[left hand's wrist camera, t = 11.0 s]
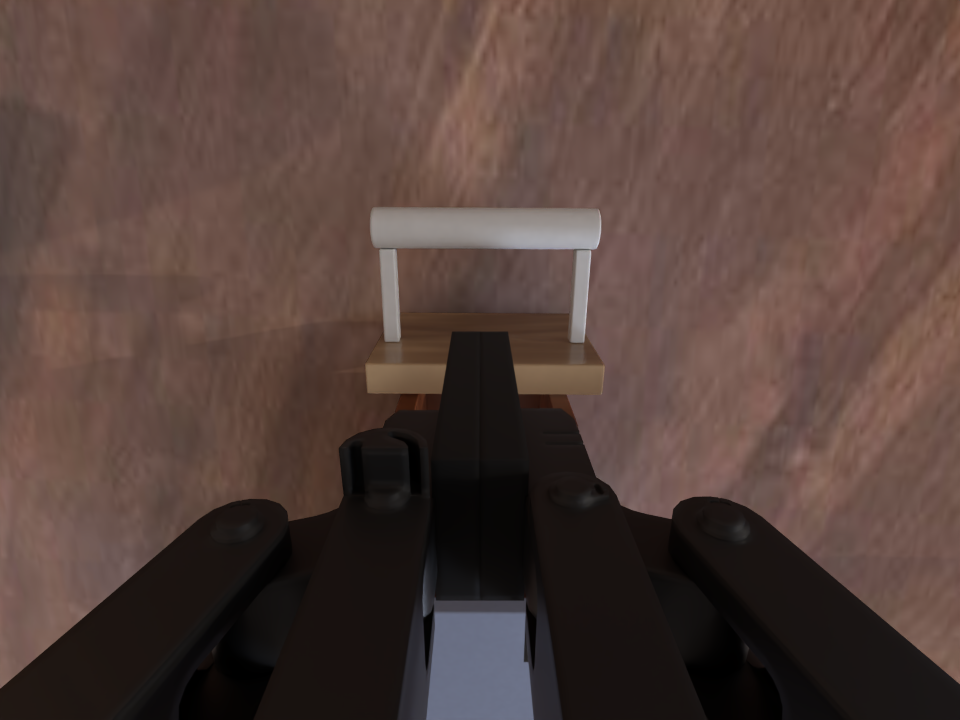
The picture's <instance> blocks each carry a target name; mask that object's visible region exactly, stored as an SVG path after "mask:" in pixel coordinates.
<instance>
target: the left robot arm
mask: <svg viewBox="0 0 960 720" xmlns="http://www.w3.org/2000/svg"><path fill="white" fill-rule="evenodd" d="M339 455H340V465H341V474H342V484H343V493H344V496H343V499H342V501H341V504H340V506H339V508H337V509H335V510H333V511H331V512H328V513H325V514H321V515H317V516H314V517H309V518H304V519H299V520H294V521H289V522H288V515H287V511H286V510H285V509H284V508H283V507H282V506H281V505H280V504H279V503H276V502H273V501H270V500H267V499H248V500H242V501H236V502H231V503H229V504H227V505H224V506H222V507H219V508H217V509H214V510H212V511H211V512H209V513H208V514H206V515H205V516H203V517H202V518H200V519H199V520H197V521H196V522H195V523H194V524H193V525H192V526H190V527H189V528H188V529H187V530H186V531H185V532H183V533H182V534H181V535H180V536H179V537H178V538H176V539H175V540H174V541H173V542H172V543H171V544H169V545H168V546H167V547H166V548H165V549H163V550H162V551H161V552H160V553H159V554H158V555H156V556H155V557H154V558H153V559H152V560H151V561H149V562H148V563H147V564H146V565H145V566H144V567H142V568H141V569H140V570H139V571H138V572H137V573H135V574H134V575H133V576H132V577H131V578H130V579H128V580H127V581H126V582H125V583H124V584H122V585H121V586H120V587H119V588H118V589H117V590H115V591H114V592H113V593H112V594H111V595H110V596H108V597H107V598H106V599H105V600H104V601H103V602H101V603H100V604H99V605H98V606H97V607H96V608H94V609H93V610H92V611H91V612H90V613H89V614H87V615H86V616H85V617H84V618H83V619H82V620H80V621H79V622H78V623H77V624H76V625H74V626H73V627H72V628H71V629H70V630H69V631H67V632H66V633H65V634H64V635H63V636H62V637H60V638H59V639H58V640H57V641H56V642H55V643H53V644H52V645H51V646H50V647H49V648H48V649H46V650H45V651H44V652H43V653H42V654H41V655H39V656H38V657H37V658H36V659H35V660H33V661H32V662H31V663H30V664H29V665H28V666H26V667H25V668H24V669H23V670H22V671H21V672H19V673H18V674H17V675H16V676H15V677H14V678H12V679H11V680H10V681H9V682H8V683H7V684H5V685H4V686H3V687H2V688H1V689H0V720H426V718H427V707H428V696H429V686H430V675H431V664H432V653H433V643H434V632H435V614H434V598H435V591H436V601H524V591H525V595H526V614H525V640H524V662H528V663H529V674H530V685H531V695H532V706H533V717H534V720H960V684H959V683H958V682H956V681H955V680H954V679H953V678H952V677H950V676H949V675H948V674H947V673H946V672H945V671H943V670H942V669H941V668H940V667H939V666H937V665H936V664H935V663H934V662H933V661H932V660H930V659H929V658H928V657H927V656H926V655H924V654H923V653H922V652H921V651H920V650H919V649H917V648H916V647H915V646H914V645H913V644H911V643H910V642H909V641H908V640H907V639H906V638H904V637H903V636H902V635H901V634H900V633H898V632H897V631H896V630H895V629H894V628H893V627H891V626H890V625H889V624H888V623H887V622H885V621H884V620H883V619H882V618H881V617H880V616H878V615H877V614H876V613H875V612H874V611H872V610H871V609H870V608H869V607H868V606H867V605H865V604H864V603H863V602H862V601H861V600H859V599H858V598H857V597H856V596H855V595H854V594H852V593H851V592H850V591H849V590H848V589H846V588H845V587H844V586H843V585H842V584H841V583H839V582H838V581H837V580H836V579H835V578H833V577H832V576H831V575H830V574H829V573H828V572H826V571H825V570H824V569H823V568H822V567H820V566H819V565H818V564H817V563H816V562H815V561H813V560H812V559H811V558H810V557H809V556H807V555H806V554H805V553H804V552H803V551H802V550H800V549H799V548H798V547H797V546H796V545H794V544H793V543H792V542H791V541H790V540H789V539H787V538H786V537H785V536H784V535H783V534H781V533H780V532H779V531H778V530H777V529H776V528H774V527H773V526H772V525H771V524H770V523H768V522H767V521H766V520H765V519H764V518H763V517H761V516H760V515H758V514H757V513H755V512H754V511H752V510H750V509H749V508H747V507H745V506H743V505H740V504H738V503H735V502H732V501H730V500H727V499H723V498H718V497H692V498H689V499H686V500H683V501H680V503H679V504H678V505H677V506H676V507H675V508H674V509H673V515H672V519H668V518H663V517H658V516H653V515H648V514H644V513H640V512H637V511H633V510H630V509H628V508H626V507H623V506H621V505H620V503H619V500H618V498H617V496H616V494H615V493H614V491H613V490H612V489H611V487H610V486H609V485H607V484H606V483H604V482H603V481H601V480H600V479H598V478H596V476H595V473H594V470H593V468H592V465H591V462H590V459H589V457H588V454H587V451H586V449H585V446H584V445H583V440H582V438H581V435H580V434H579V430H578V427H577V424H576V421H575V419H574V418H573V417H571V416H570V415H569V414H568V413H566V412H565V411H564V410H563V409H561V408H521V407H520V401H519V395H518V389H517V383H516V377H515V371H514V365H513V359H512V353H511V347H510V341H509V334H508V331H452V334H451V341H450V347H449V353H448V359H447V365H446V371H445V377H444V383H443V389H442V395H441V401H440V407H439V410H398V411H397V412H396V413H395V414H393V415H392V416H391V417H390V418H388V419H387V420H386V421H385V424H384V426H383V428H379V429H372V430H368V431H365V432H361V433H358V434H356V435H354V436H353V437H351V438H349V439H347V440H346V441H345V442H344V443H343V444H342V445H341V446H340V448H339Z"/></svg>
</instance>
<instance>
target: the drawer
mask: <svg viewBox="0 0 960 720" xmlns="http://www.w3.org/2000/svg"><path fill="white" fill-rule="evenodd" d="M370 234H371V240H372V244H373V246H374V247H375V248H381V249H380V250H379V258H380V274H381V291H382V308H383V325H384V332H383V334H382V335H381V337H380V339H379V341H378V342H377V344H376V346H375V348H374V349H373V351H372V353H371V355H370V356H369V358H368V360H367V362H366V363H365V373H366V387H367V393H384V394H401V396H400V399H399V402H398V405H397V407H396V410H395V413H396V412H397V411H398V410H439V407H440V401H441V395H442V389H443V383H444V377H445V371H446V365H447V359H448V353H449V347H450V341H451V334H452V331H508V334H509V341H510V347H511V353H512V359H513V365H514V371H515V377H516V383H517V389H518V395H519V401H520V407H521V408H561V409H563V410H564V411H565V412H566V413H568V414H569V415H570V416H571V417H573V418H574V419H575V416H574V414H573V411H572V408H571V406H570V403H569V400H568V398H567V395H566V394H584V395H601V394H602V390H603V380H604V369H605V365H604V364H603V362H602V360H601V359H600V357H599V355H598V354H597V352H596V351H595V349H594V347H593V346H592V344H591V342H590V341H589V339H588V338H587V336H586V334H585V325H586V312H587V299H588V287H589V274H590V261H591V250H589V249H596V248H597V246H598V244H599V240H600V234H601V216H600V211H599V209H597V208H459V207H373V208H372V210H371V214H370ZM396 248H431V249H574V251H573V266H572V281H571V296H570V311H569V314H527V313H400V310H399V289H398V269H397V249H396ZM395 413H394V414H395ZM575 421H576V419H575ZM576 424H577V422H576ZM577 427H578V425H577ZM435 598H436V591H435ZM524 598H526V595H525V591H524Z"/></svg>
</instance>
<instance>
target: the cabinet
mask: <svg viewBox="0 0 960 720" xmlns="http://www.w3.org/2000/svg"><path fill="white" fill-rule="evenodd" d="M434 614H435V632H434V643H433V653H432V664H431V675H430V686H429V696H428V707H427V718H426V720H534V717H533V706H532V695H531V685H530V674H529V663H528V662H524V640H525V614H526V598H524V601H436V598H434Z"/></svg>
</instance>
